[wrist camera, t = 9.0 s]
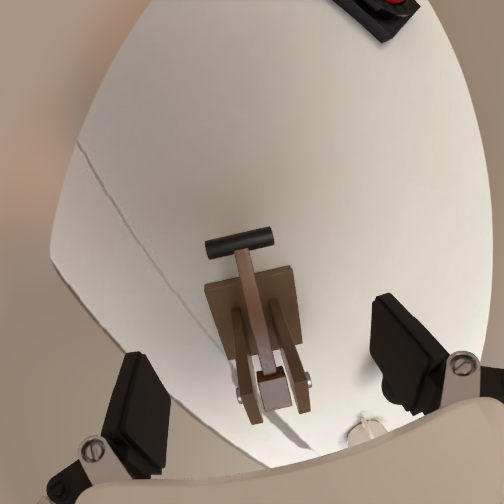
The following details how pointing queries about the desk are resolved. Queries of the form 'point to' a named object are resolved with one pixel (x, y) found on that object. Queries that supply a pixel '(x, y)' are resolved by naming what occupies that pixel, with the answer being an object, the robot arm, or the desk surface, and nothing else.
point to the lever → (255, 311)
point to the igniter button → (394, 1)
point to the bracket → (279, 330)
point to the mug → (365, 432)
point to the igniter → (380, 15)
